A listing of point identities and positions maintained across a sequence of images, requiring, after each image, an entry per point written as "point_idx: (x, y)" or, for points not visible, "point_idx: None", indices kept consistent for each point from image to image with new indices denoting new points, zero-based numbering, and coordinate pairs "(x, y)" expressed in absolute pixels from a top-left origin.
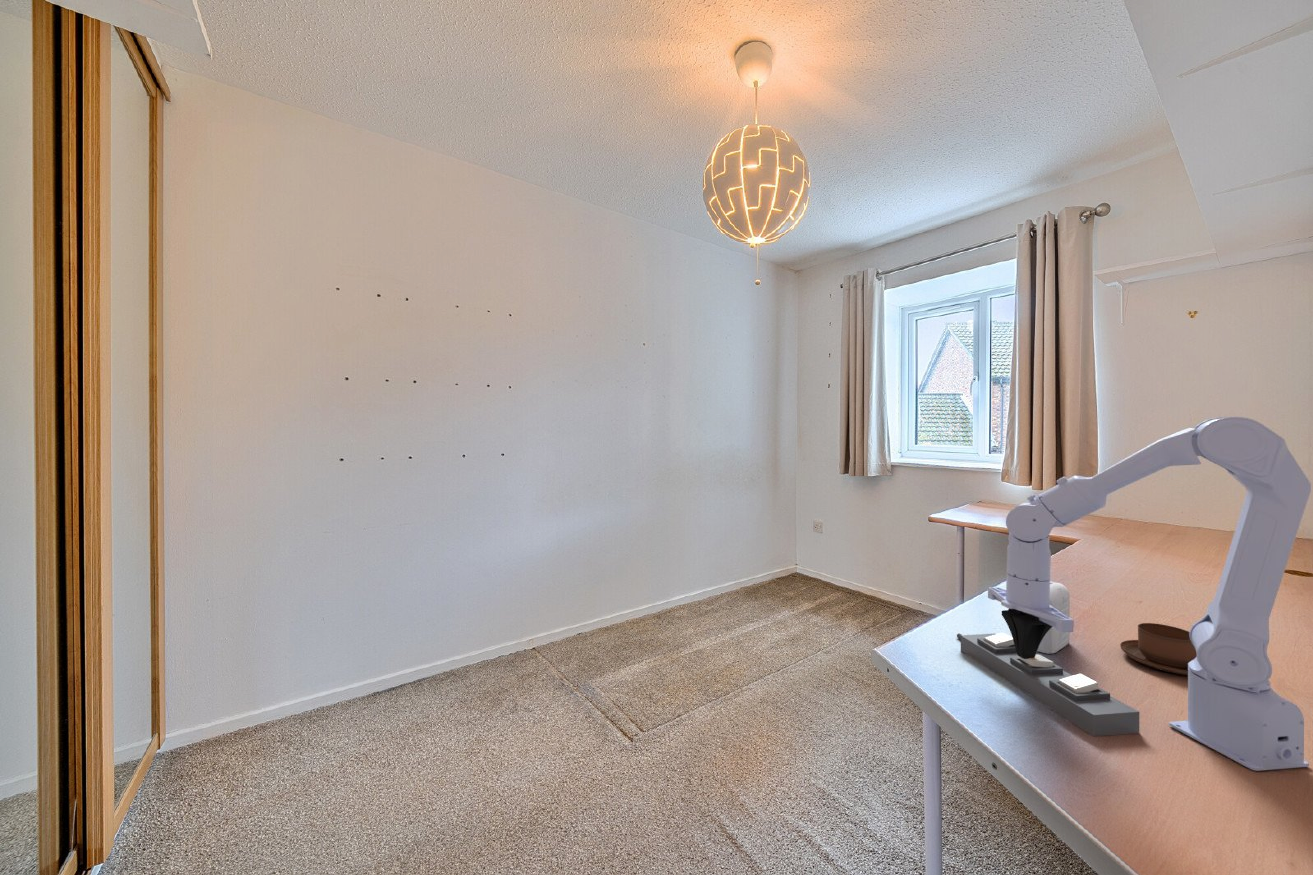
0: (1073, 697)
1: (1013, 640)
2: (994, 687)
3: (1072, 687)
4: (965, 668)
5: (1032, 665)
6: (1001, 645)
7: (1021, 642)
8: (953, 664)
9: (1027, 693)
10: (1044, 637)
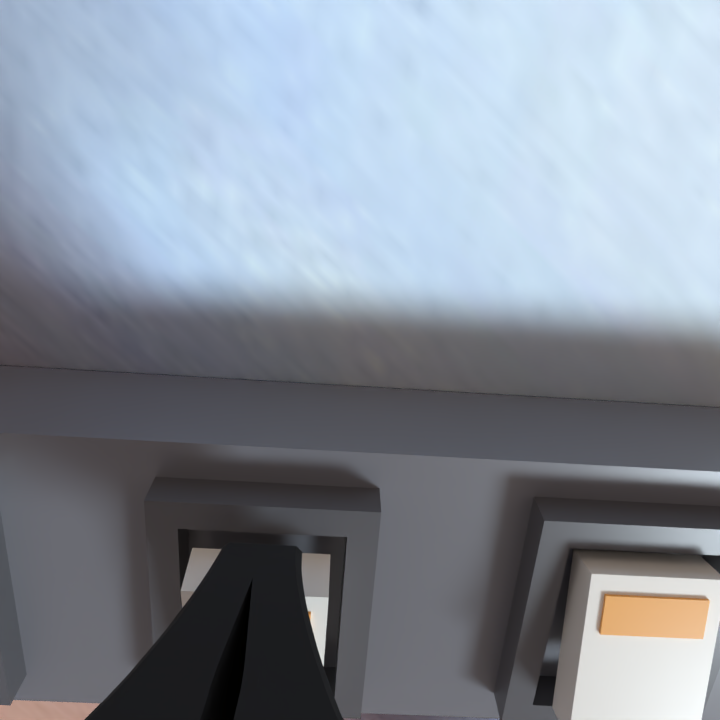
0: None
1: (302, 631)
2: (297, 223)
3: None
4: (594, 233)
5: (194, 552)
6: (574, 603)
7: (178, 648)
8: (680, 187)
9: (188, 376)
10: None
